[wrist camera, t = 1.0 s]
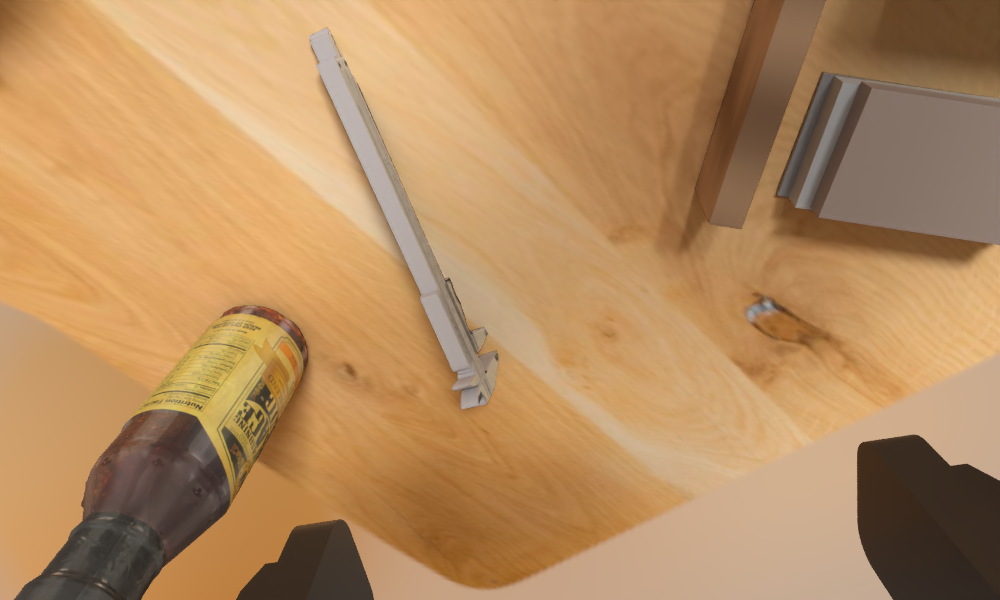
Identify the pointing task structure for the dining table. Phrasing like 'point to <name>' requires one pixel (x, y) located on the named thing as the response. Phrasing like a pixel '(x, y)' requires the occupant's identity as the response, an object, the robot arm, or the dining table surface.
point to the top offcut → (916, 164)
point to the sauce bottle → (178, 458)
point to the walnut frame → (754, 106)
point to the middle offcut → (834, 135)
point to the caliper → (408, 230)
